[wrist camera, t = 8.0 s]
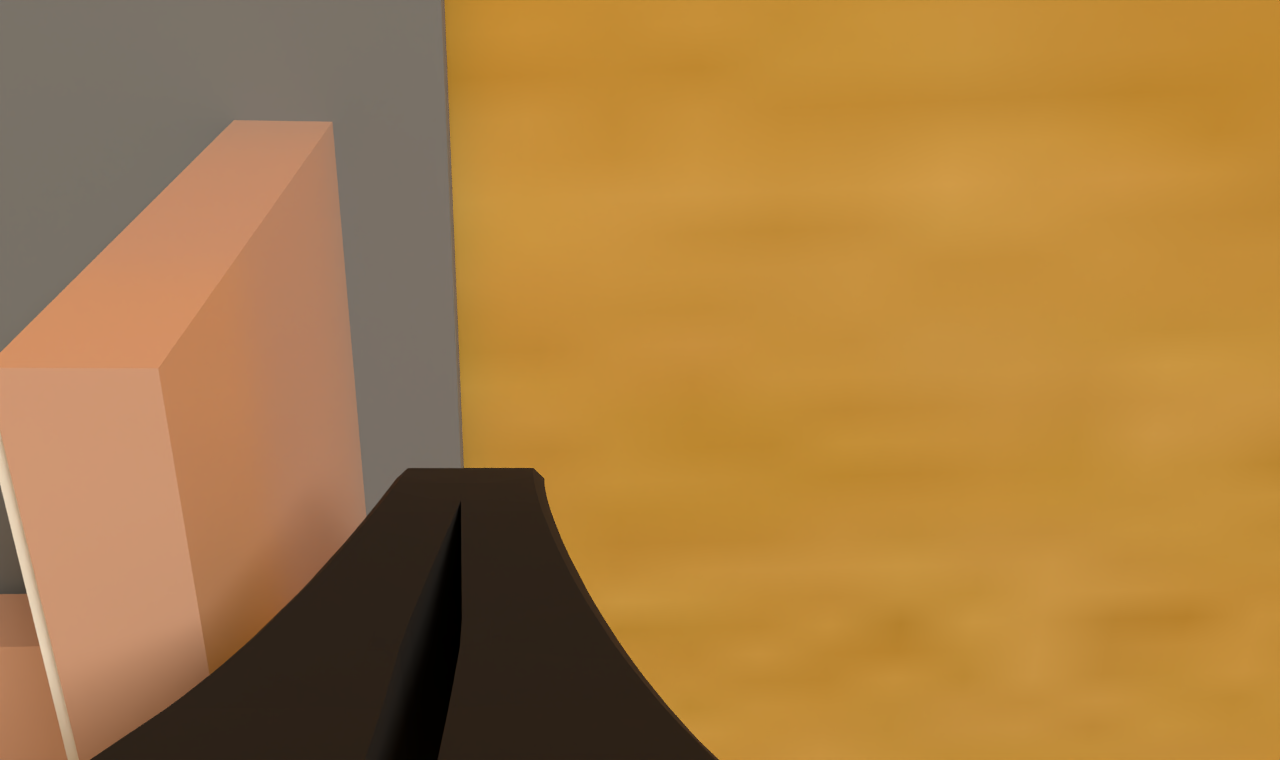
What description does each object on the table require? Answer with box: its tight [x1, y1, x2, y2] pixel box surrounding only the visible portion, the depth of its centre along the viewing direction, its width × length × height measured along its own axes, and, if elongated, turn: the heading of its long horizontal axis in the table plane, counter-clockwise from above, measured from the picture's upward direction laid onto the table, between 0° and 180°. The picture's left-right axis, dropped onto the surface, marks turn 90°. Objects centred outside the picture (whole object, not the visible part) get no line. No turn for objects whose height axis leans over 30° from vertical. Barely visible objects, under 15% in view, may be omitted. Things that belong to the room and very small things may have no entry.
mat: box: [0, 0, 464, 594], centre depth 18 cm, size 17×11×1 cm, turn 178°
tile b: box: [0, 120, 366, 760], centre depth 13 cm, size 6×1×7 cm, turn 178°
